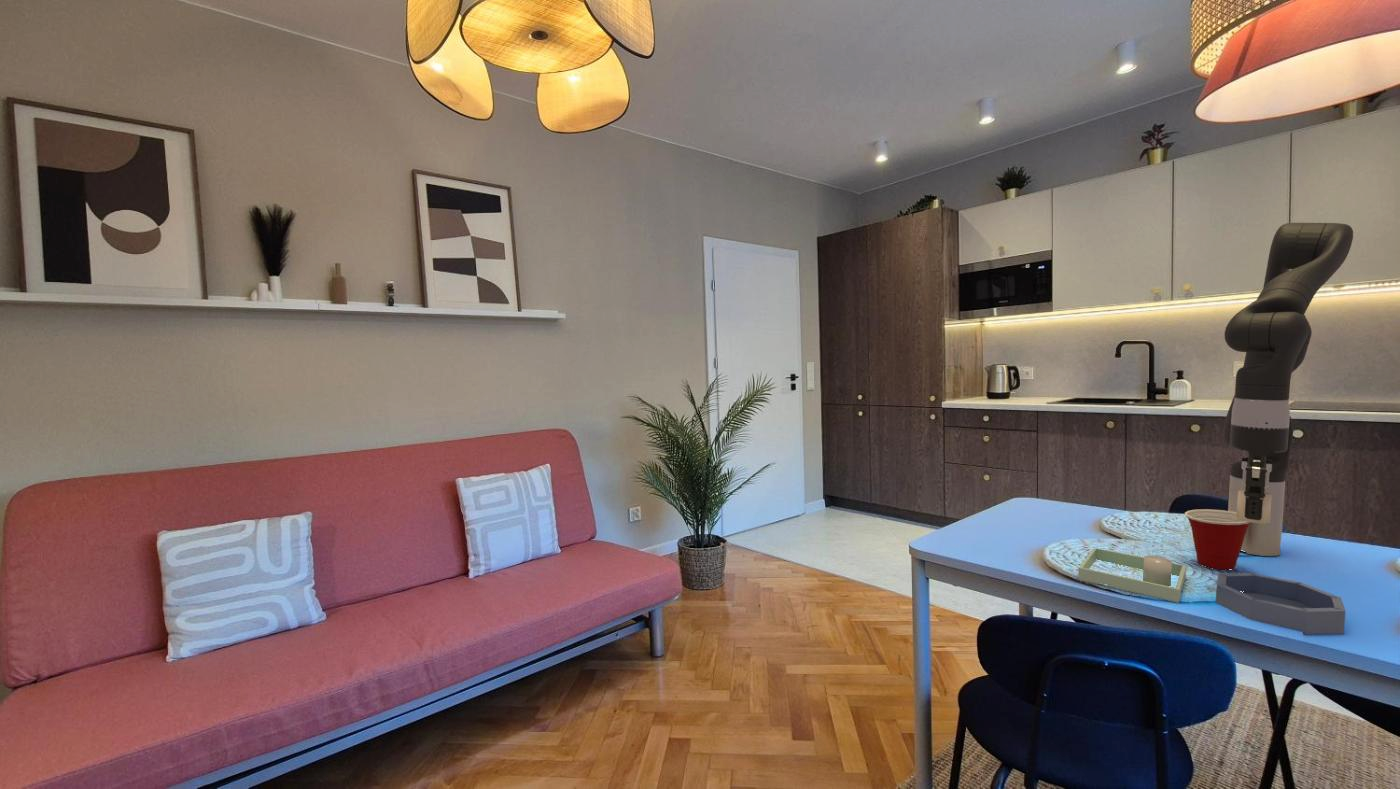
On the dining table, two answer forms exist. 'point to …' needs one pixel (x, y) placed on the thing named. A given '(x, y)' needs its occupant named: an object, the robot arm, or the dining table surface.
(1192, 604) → the dining table surface
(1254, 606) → the bowl
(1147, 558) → the beige rounded piece
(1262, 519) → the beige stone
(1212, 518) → the plastic cup
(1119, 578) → the tray
